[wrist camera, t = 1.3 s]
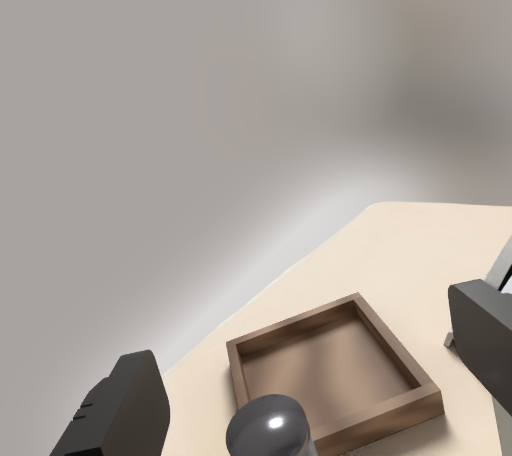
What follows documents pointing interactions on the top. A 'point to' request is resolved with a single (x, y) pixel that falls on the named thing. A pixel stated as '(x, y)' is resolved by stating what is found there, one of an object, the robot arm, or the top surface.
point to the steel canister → (270, 429)
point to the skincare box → (507, 426)
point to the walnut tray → (337, 374)
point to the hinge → (495, 276)
